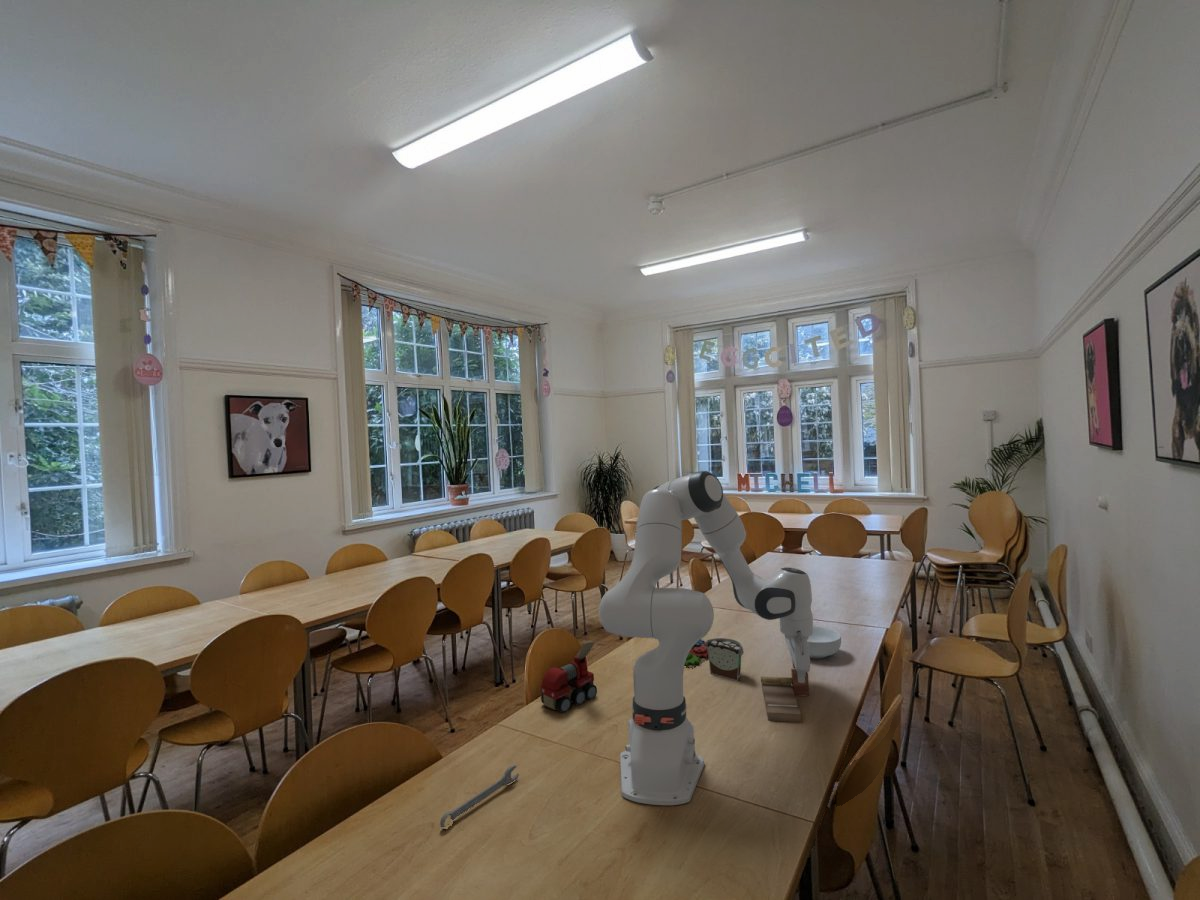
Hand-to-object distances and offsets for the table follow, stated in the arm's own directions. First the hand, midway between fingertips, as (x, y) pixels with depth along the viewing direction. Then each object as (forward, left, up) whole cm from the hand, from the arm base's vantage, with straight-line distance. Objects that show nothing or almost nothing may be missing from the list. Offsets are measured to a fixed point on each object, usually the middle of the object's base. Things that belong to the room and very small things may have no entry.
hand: (798, 674), depth 156 cm
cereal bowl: (+29, -9, -5) cm, 31 cm away
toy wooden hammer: (-1, +4, -5) cm, 6 cm away
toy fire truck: (-14, +62, -5) cm, 64 cm away
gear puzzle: (+23, +34, -6) cm, 41 cm away
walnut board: (-8, +6, -5) cm, 11 cm away
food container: (+10, +19, -5) cm, 22 cm away
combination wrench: (-59, +69, -5) cm, 91 cm away
